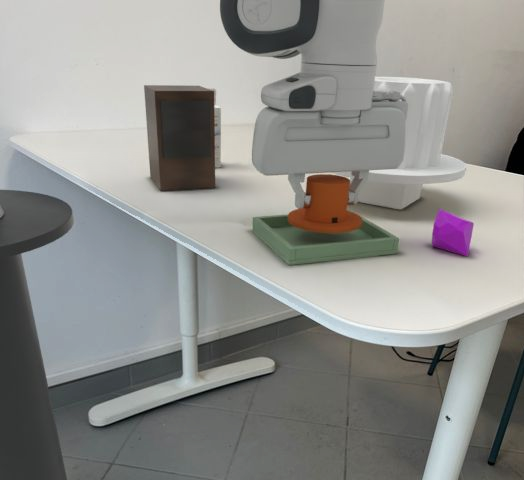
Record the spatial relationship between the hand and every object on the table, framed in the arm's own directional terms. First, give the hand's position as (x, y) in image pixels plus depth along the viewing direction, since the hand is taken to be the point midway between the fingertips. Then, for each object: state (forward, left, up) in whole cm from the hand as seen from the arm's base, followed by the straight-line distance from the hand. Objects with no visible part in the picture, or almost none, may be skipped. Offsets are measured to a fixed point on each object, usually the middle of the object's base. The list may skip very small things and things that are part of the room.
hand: (325, 206), depth 71 cm
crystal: (+16, -7, -5) cm, 18 cm away
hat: (0, 0, -2) cm, 2 cm away
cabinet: (-11, +37, -5) cm, 39 cm away
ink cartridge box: (-4, +51, -5) cm, 52 cm away
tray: (0, 0, -5) cm, 5 cm away
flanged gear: (+21, +18, -5) cm, 28 cm away
